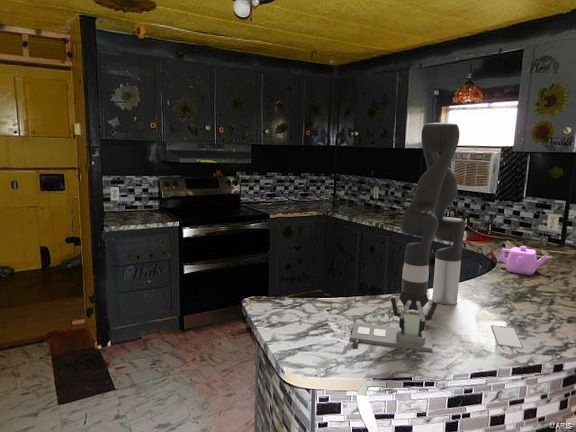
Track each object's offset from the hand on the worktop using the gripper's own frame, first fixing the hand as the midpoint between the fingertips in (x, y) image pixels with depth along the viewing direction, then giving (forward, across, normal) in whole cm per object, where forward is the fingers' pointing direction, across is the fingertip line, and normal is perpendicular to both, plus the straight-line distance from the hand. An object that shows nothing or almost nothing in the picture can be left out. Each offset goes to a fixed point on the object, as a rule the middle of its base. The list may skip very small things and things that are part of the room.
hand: (411, 330), depth 131 cm
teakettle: (+4, -56, -98) cm, 113 cm away
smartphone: (+4, -30, -12) cm, 33 cm away
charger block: (+2, 0, 0) cm, 2 cm away
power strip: (+3, +6, +2) cm, 7 cm away
